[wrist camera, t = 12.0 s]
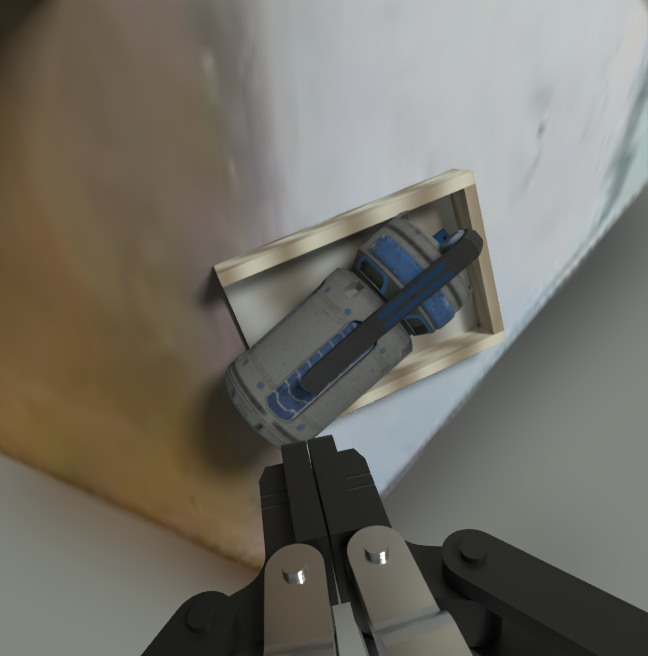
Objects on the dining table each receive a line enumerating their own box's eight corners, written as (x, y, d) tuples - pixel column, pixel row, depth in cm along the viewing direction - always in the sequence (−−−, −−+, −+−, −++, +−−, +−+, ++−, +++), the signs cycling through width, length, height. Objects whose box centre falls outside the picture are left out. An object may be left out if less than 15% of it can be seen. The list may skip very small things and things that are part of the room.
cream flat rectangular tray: (282, 422, 55) (289, 440, 52) (213, 265, 47) (216, 274, 44) (487, 329, 58) (505, 339, 55) (453, 168, 51) (472, 170, 48)
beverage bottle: (203, 399, 39) (451, 175, 38) (225, 362, 52) (410, 195, 51) (293, 490, 41) (534, 278, 40) (292, 432, 54) (474, 272, 53)
